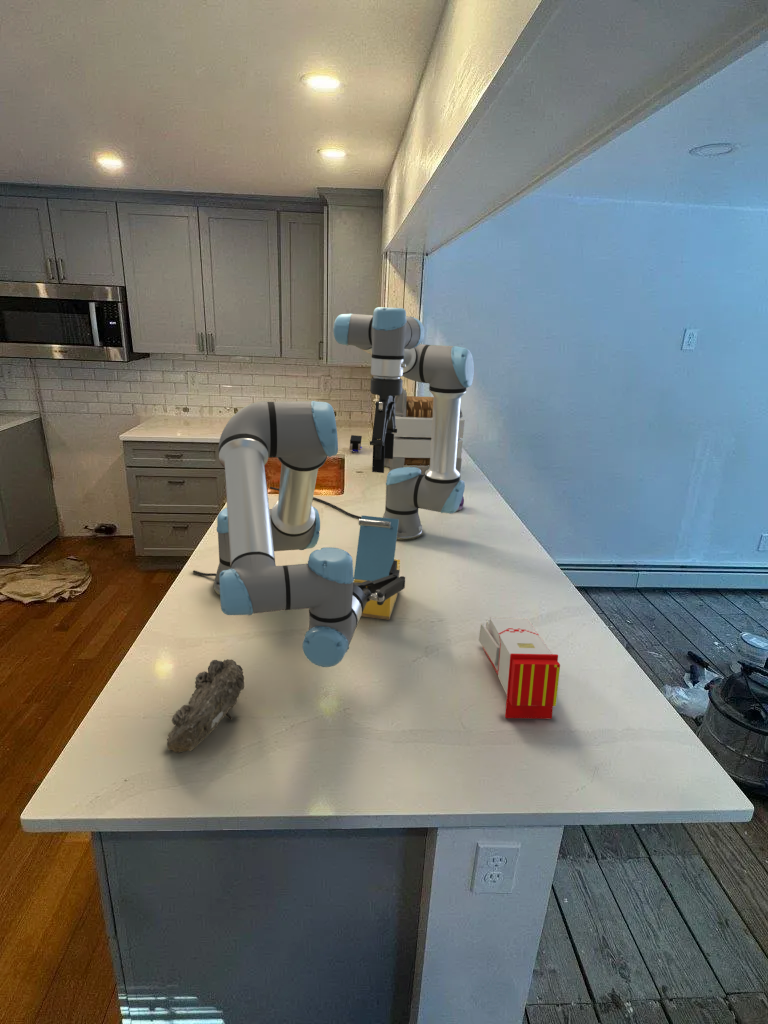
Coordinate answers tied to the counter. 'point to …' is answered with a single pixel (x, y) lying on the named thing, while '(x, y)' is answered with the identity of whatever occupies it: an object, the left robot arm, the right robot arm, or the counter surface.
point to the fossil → (206, 705)
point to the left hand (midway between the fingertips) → (365, 562)
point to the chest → (380, 610)
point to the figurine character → (355, 443)
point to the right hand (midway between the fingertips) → (382, 465)
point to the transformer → (416, 432)
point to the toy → (522, 666)
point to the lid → (375, 547)
